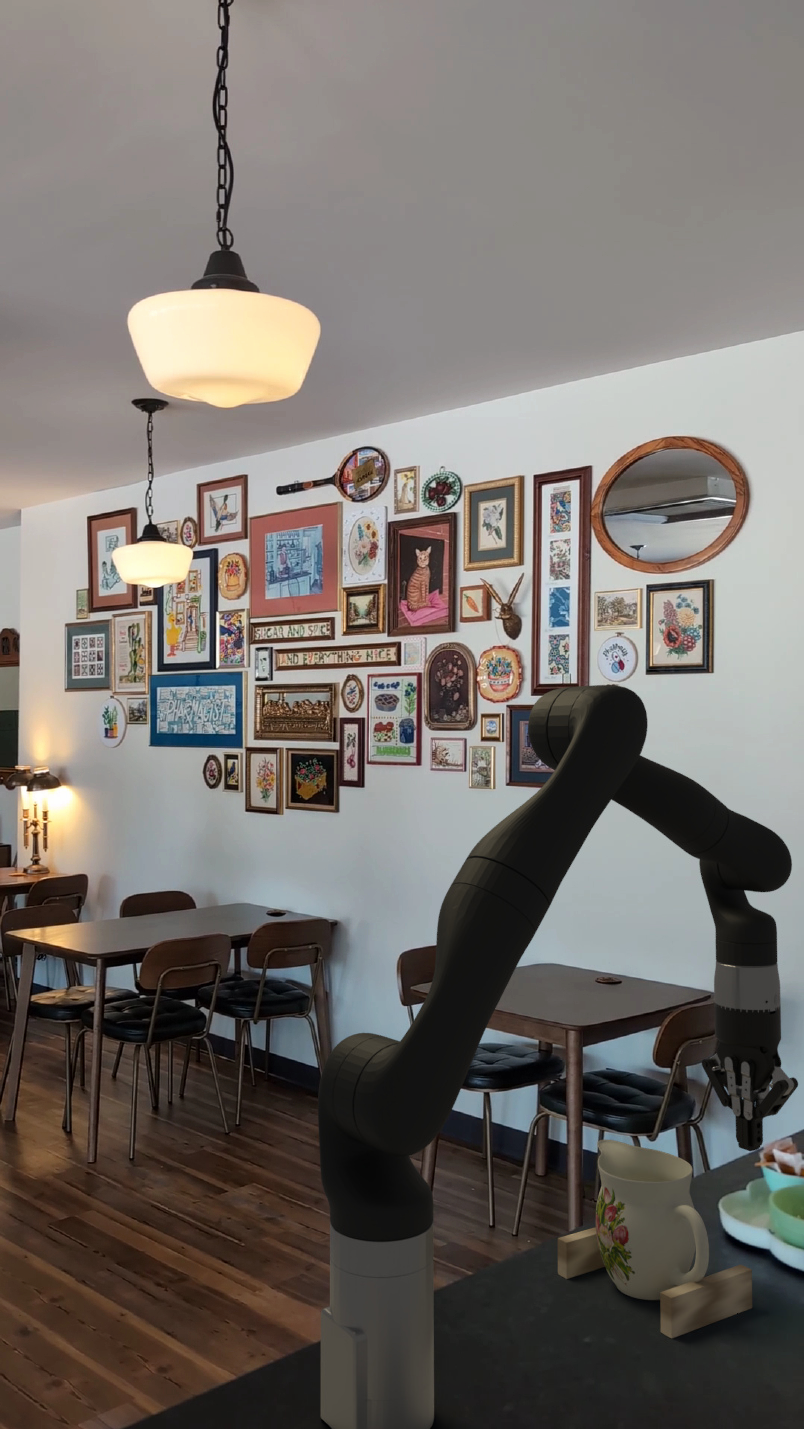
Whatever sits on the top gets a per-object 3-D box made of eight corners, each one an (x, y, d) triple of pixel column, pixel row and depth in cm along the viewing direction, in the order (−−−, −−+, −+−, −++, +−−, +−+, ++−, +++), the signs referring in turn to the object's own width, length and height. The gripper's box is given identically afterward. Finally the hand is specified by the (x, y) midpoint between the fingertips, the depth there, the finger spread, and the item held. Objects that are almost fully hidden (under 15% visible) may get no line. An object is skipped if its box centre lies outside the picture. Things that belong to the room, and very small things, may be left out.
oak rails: (671, 1338, 117) (671, 1298, 117) (557, 1274, 132) (557, 1238, 132) (752, 1307, 124) (751, 1269, 124) (635, 1249, 138) (634, 1215, 138)
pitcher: (664, 1336, 117) (662, 1198, 118) (564, 1268, 133) (562, 1146, 134) (748, 1314, 122) (745, 1180, 123) (641, 1250, 138) (640, 1133, 139)
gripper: (682, 994, 141) (685, 1139, 140) (771, 1014, 130) (773, 1171, 129) (725, 987, 145) (727, 1127, 145) (814, 1006, 134) (817, 1158, 133)
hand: (749, 1148), depth 137 cm, fingers closed
